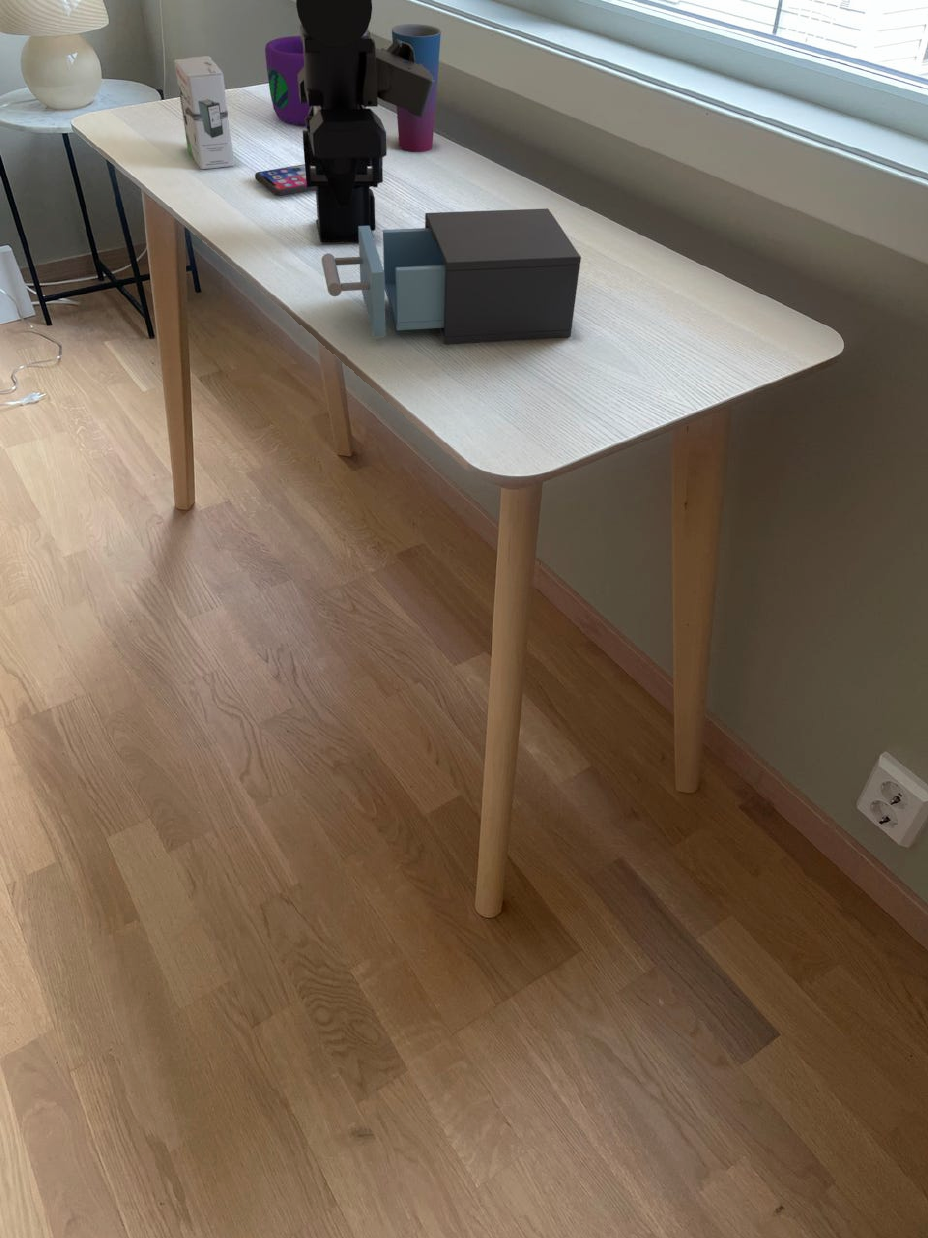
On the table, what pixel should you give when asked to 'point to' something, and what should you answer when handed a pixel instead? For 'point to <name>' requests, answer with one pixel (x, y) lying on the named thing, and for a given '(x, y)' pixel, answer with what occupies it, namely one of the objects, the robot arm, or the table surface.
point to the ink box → (204, 112)
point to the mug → (286, 78)
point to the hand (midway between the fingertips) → (344, 205)
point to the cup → (421, 129)
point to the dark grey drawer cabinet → (505, 275)
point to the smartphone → (285, 180)
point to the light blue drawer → (396, 278)
